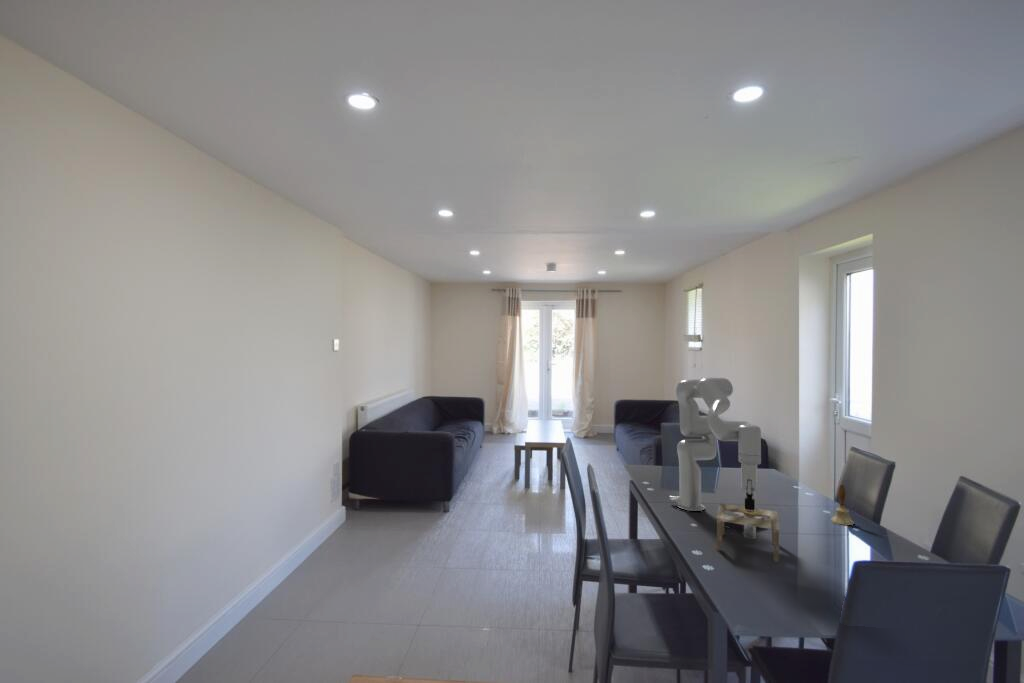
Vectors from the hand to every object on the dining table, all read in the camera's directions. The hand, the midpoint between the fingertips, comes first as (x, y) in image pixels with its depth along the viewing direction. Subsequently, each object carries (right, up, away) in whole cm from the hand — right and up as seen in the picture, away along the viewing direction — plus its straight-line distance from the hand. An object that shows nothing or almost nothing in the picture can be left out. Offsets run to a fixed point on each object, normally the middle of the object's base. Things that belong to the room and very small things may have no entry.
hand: (749, 507), depth 172 cm
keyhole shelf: (-1, -15, 0) cm, 15 cm away
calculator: (+8, -16, +22) cm, 28 cm away
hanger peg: (0, -11, 0) cm, 11 cm away
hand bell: (+53, -16, +26) cm, 61 cm away
